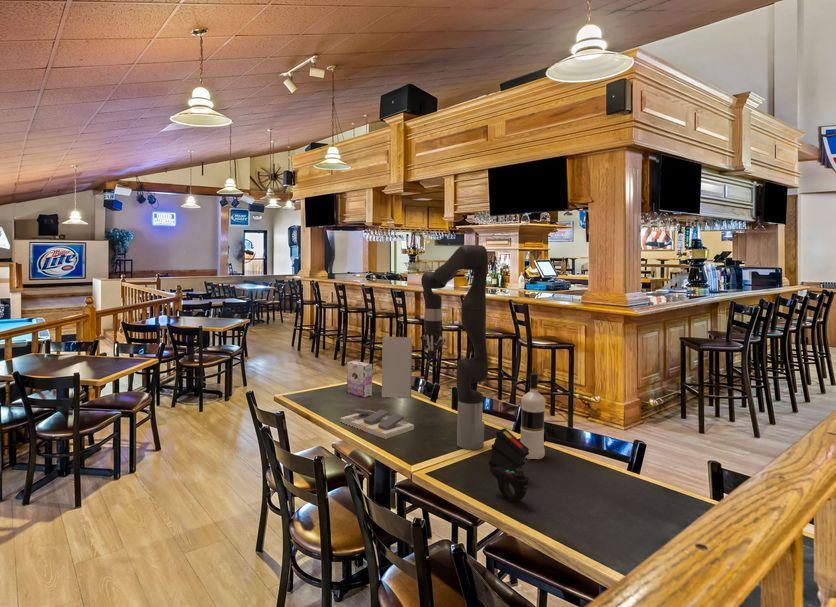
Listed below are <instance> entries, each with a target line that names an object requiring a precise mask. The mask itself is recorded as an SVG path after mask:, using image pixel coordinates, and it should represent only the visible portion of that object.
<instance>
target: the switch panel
mask: <svg viewBox="0 0 836 607" xmlns="http://www.w3.org/2000/svg"><path fill="white" fill-rule="evenodd" d="M368 410H369V411H372V412H375V411H373V410H370V409H368ZM368 416H369V415H367V414H357V413H353V414H350V415H346V416H342V417H340V418H339V420H340V423H341V422H342V423H341V424H343V423H345V424H344V425H346V424H347V425H346V426H349V425H350V426H349V427H352V426H353V427H352V428H354V427H355V428H354V429H357V428H358V430H360V429H361V430H360V431H362V430H363V432H366V433H368V434H371V435H374V436H376V437H379V438H381V439H385V440H386V439H390V438H393V437H397V436H399V435H401V434H405V433H408V432H410V431H414V430H415V424H413V423H410V422H408V421H405V420H401V421H400V422H398V423H397V424H396V425H394V426H393V427H391V428H390V429H388V430H384V429H382V428H379V427H378V424H380V423H381V422H383V421H384V420H386V419H387V418H389V417H390V416H391V415H390V416H389V415H387V416H385V417H384V418H382V419H380V420H378V421H377V422H375V423H373V424H369V423H366V422H364V421H363V419H364V418H366V417H368Z"/></svg>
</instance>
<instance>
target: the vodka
mask: <svg viewBox="0 0 836 607" xmlns="http://www.w3.org/2000/svg"><path fill="white" fill-rule="evenodd" d="M529 381H530V382H529V384H530V385H529V386H530V387H529V391H528V392H527V393H525V394H524V395H523V396H521V400H520V401H521V406H520V408H521V419H520V420H521V421H520V422H521V423H520V439H519V441H520V442H521V443H523V444H524V445H525V446H526V447H527V448H528V449H529V451H528V452H529V455H527V456H526V457H525V459H526V458H527V460H530V459H538V460H541V459H543V458H544V457H545V455H546V449H545V443H544V442H545V441H544V440H545V439H544V436H545V429H544V428H545V411H546V399H545V397H544V395H542V394H541V393H540V392H538V385H539V384H538V383H539V374H538V373H533V372H532V373H530V380H529Z"/></svg>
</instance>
